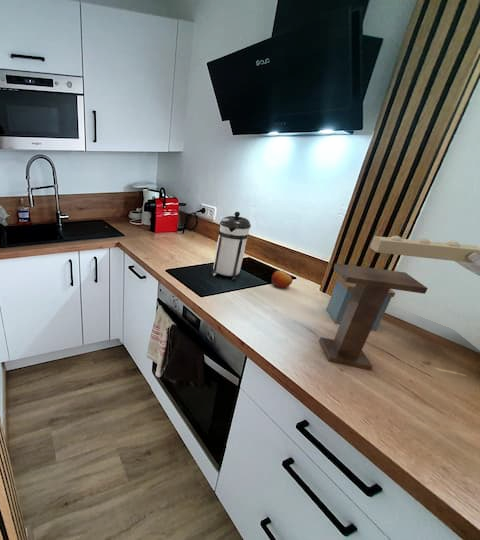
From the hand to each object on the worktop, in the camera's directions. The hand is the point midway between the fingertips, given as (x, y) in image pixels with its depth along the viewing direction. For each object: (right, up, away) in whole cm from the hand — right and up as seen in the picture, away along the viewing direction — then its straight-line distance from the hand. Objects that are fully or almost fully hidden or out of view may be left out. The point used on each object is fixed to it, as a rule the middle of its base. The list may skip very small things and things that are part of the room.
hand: (461, 251), depth 74 cm
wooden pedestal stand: (-23, -30, +10) cm, 39 cm away
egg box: (-7, -1, +3) cm, 8 cm away
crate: (-6, -23, +28) cm, 37 cm away
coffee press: (-38, -7, +63) cm, 74 cm away
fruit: (-18, -12, +52) cm, 56 cm away
